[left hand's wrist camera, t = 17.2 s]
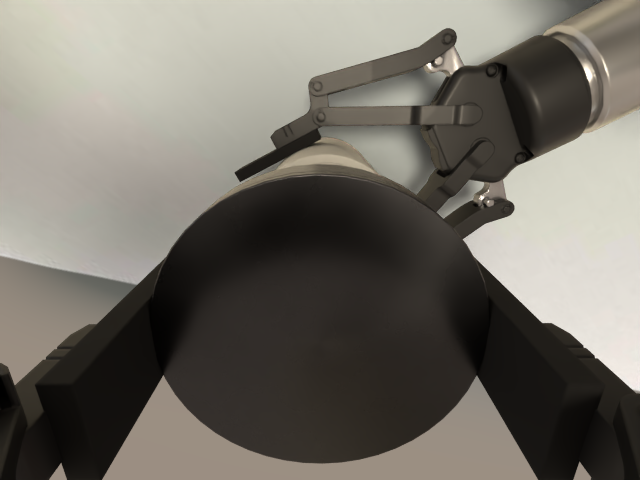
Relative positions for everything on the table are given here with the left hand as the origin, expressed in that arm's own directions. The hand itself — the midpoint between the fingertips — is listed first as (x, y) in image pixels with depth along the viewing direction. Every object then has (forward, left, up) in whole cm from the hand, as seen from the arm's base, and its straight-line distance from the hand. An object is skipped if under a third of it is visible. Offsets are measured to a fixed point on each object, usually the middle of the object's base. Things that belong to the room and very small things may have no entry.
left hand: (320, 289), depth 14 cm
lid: (0, 0, +3) cm, 3 cm away
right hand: (-3, -3, -15) cm, 15 cm away
